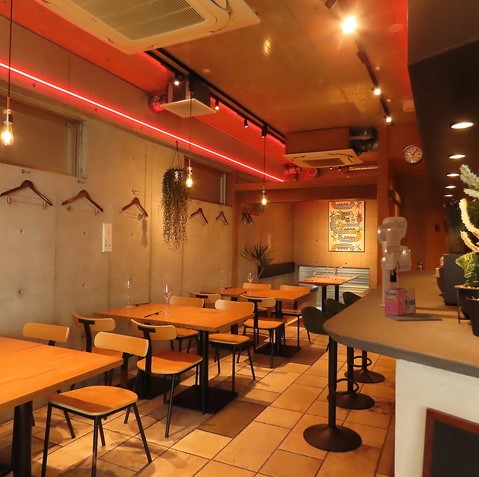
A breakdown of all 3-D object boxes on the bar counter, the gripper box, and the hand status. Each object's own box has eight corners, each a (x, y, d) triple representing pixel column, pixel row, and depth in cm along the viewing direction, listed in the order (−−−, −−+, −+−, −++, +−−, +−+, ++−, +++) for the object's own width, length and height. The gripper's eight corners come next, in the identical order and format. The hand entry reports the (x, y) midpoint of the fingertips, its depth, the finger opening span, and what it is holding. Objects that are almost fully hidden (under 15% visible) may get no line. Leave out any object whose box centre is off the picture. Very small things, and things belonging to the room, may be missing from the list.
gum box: (403, 311, 236) (402, 287, 237) (417, 312, 231) (416, 288, 232) (384, 314, 219) (383, 289, 220) (398, 315, 214) (398, 289, 215)
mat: (384, 316, 219) (384, 314, 219) (426, 315, 222) (426, 314, 222) (397, 321, 205) (397, 319, 205) (442, 320, 208) (442, 318, 208)
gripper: (380, 249, 241) (380, 281, 240) (393, 249, 226) (393, 283, 225) (392, 250, 242) (392, 281, 241) (406, 250, 227) (406, 283, 226)
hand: (393, 282), depth 233 cm, fingers closed
